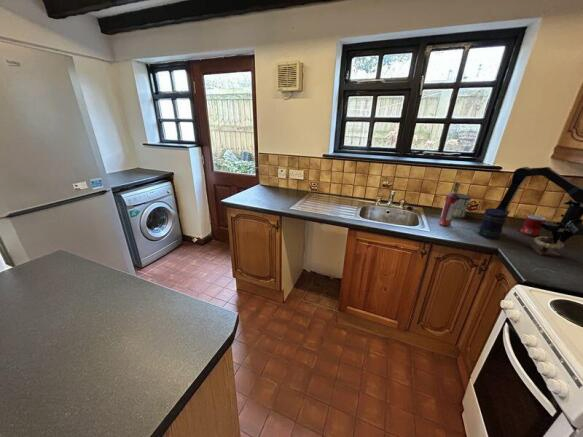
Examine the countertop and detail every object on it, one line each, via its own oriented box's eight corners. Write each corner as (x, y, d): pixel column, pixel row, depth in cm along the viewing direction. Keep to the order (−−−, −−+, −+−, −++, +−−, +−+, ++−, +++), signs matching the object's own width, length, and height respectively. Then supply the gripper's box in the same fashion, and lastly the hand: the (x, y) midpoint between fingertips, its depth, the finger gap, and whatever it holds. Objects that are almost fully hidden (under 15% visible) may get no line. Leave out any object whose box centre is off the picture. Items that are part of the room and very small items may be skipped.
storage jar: (474, 232, 146) (480, 209, 139) (489, 230, 146) (496, 207, 140) (488, 240, 137) (495, 216, 130) (504, 238, 137) (512, 214, 131)
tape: (544, 249, 121) (545, 245, 120) (527, 239, 131) (529, 235, 130) (569, 250, 119) (571, 246, 119) (550, 239, 129) (552, 235, 128)
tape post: (541, 255, 123) (548, 241, 120) (527, 246, 131) (534, 233, 128) (560, 257, 122) (568, 243, 119) (545, 248, 130) (553, 234, 127)
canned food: (540, 237, 142) (549, 220, 137) (525, 235, 143) (533, 218, 139) (531, 231, 149) (539, 215, 144) (516, 230, 150) (524, 213, 146)
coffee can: (447, 210, 177) (453, 192, 171) (464, 214, 172) (470, 195, 166) (446, 215, 169) (453, 196, 163) (464, 218, 164) (471, 199, 158)
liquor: (442, 221, 158) (456, 179, 147) (453, 226, 152) (468, 183, 141) (434, 223, 155) (448, 180, 144) (445, 228, 149) (460, 184, 138)
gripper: (566, 220, 111) (550, 249, 118) (612, 223, 109) (593, 253, 116) (546, 211, 122) (533, 238, 128) (588, 214, 120) (572, 241, 126)
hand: (557, 242), depth 124 cm, fingers closed on tape, 2 cm apart
